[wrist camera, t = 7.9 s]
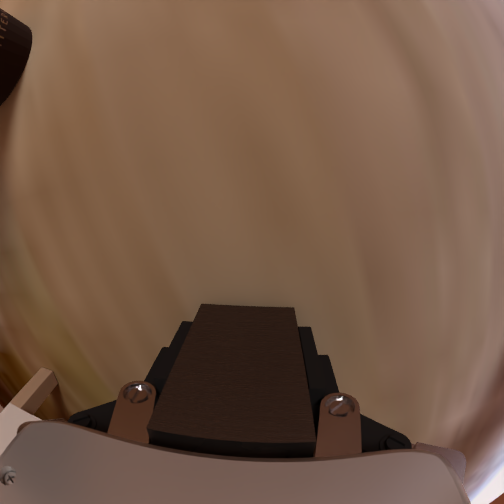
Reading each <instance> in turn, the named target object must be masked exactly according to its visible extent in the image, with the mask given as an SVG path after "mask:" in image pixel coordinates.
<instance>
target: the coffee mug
mask: <svg viewBox="0 0 504 504" xmlns="http://www.w3.org/2000/svg"><path fill="white" fill-rule="evenodd" d="M31 45H32V32H31V30H30V28H29V27H28V26H26V25H25V24H23V23H22V22H20V21H19V20H17V19H16V18H14V17H13V16H11V15H10V14H8V13H7V12H5V11H3V10H2V9H0V106H1V105H2V103H3V102H4V101H5V100H6V99H7V98H8V96H9V95H10V94H11V92H12V90H13V89H14V87H15V86H16V84H17V82H18V80H19V78H20V76H21V74H22V72H23V70H24V68H25V65H26V62H27V60H28V57H29V54H30V50H31Z"/></svg>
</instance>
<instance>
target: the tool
mask: <svg viewBox="0 0 504 504" xmlns="http://www.w3.org/2000/svg"><path fill="white" fill-rule="evenodd" d="M146 429H147V432H148V434H149V437H150V439H151V442H152V444H153V445H156V446H161V447H166V448H171V449H177V450H183V451H189V452H196V453H203V454H212V455H221V456H232V457H248V458H311V456H312V454H313V451H314V448H315V445H316V435H315V428H314V421H313V415H312V408H311V402H310V396H309V390H308V383H307V377H306V371H305V366H304V360H303V354H302V348H301V343H300V337H299V332H298V326H297V321H296V315H295V310H294V308H290V307H255V306H232V305H214V304H201V306H200V308H199V310H198V312H197V315H196V317H195V319H194V321H193V323H192V325H191V328H190V330H189V332H188V334H187V336H186V339H185V341H184V343H183V345H182V347H181V350H180V352H179V354H178V356H177V358H176V361H175V363H174V365H173V367H172V370H171V372H170V374H169V376H168V379H167V381H166V383H165V386H164V388H163V390H162V392H161V395H160V397H159V399H158V402H157V404H156V406H155V408H154V411H153V413H152V415H151V418H150V420H149V422H148V425H147V427H146Z"/></svg>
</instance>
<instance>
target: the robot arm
mask: <svg viewBox="0 0 504 504" xmlns="http://www.w3.org/2000/svg"><path fill="white" fill-rule="evenodd" d="M192 323H193V322H188V321H183V322H182V323H181V325H180V327H179V329H178V331H177V333H176V335H175V336H174V338H173V340H172V342H171V344H170V346H169V347H163V348H162V349H161V351H160V353H159V354H158V356H157V358H156V360H155V362H154V364H153V366H152V367H151V369H150V371H149V373H148V375H147V377H146V379H145V380H144V381H133V382H129V383H127V384H125V385H124V386H123V387H122V388H121V390H120V392H119V395H118V398H117V400H115V401H112V402H109V403H106V404H103V405H100V406H97V407H94V408H91V409H88V410H84V411H81V412H78V413H76V414H74V415H72V416H71V417H70V418H69V420H68V421H66V420H65V419H64V418H62V419H52V420H41V421H28V422H24V423H23V424H21V425H20V426H19V427H18V430H17V435H16V436H15V437H14V439H13V440H12V441H11V442H10V444H9V445H8V446H7V448H6V449H5V450H4V452H3V453H2V454H1V456H0V504H471V503H470V500H469V498H468V495H467V493H466V491H465V489H464V486H463V480H464V474H465V468H466V458H465V456H464V454H462V453H461V452H460V451H457V450H454V449H448V448H443V447H438V446H433V445H428V444H424V443H420V442H417V443H416V444H412V443H411V442H410V440H409V439H408V438H407V437H406V436H405V435H403V434H401V433H399V432H397V431H395V430H393V429H390V428H388V427H386V426H384V425H382V424H380V423H378V422H376V421H374V420H372V419H370V418H368V417H366V416H364V415H362V414H360V406H359V403H358V401H357V400H356V399H355V398H354V397H352V396H351V395H348V394H345V393H339V390H338V386H337V383H336V379H335V376H334V373H333V369H332V366H331V362H330V359H329V356H328V355H318V354H317V350H316V346H315V342H314V338H313V334H312V330H311V327H298V332H299V337H300V343H301V348H302V354H303V360H304V366H305V371H306V377H307V383H308V390H309V396H310V402H311V408H312V415H313V421H314V428H315V435H316V445H315V448H314V451H313V454H312V456H311V458H248V457H232V456H221V455H212V454H203V453H196V452H189V451H183V450H177V449H171V448H166V447H161V446H156V445H153V444H152V442H151V439H150V437H149V434H148V432H147V429H146V427H147V425H148V422H149V420H150V418H151V415H152V413H153V411H154V408H155V406H156V404H157V402H158V399H159V397H160V395H161V392H162V390H163V388H164V386H165V383H166V381H167V379H168V376H169V374H170V372H171V370H172V367H173V365H174V363H175V361H176V358H177V356H178V354H179V352H180V350H181V347H182V345H183V343H184V341H185V339H186V336H187V334H188V332H189V330H190V328H191V325H192Z"/></svg>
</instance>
